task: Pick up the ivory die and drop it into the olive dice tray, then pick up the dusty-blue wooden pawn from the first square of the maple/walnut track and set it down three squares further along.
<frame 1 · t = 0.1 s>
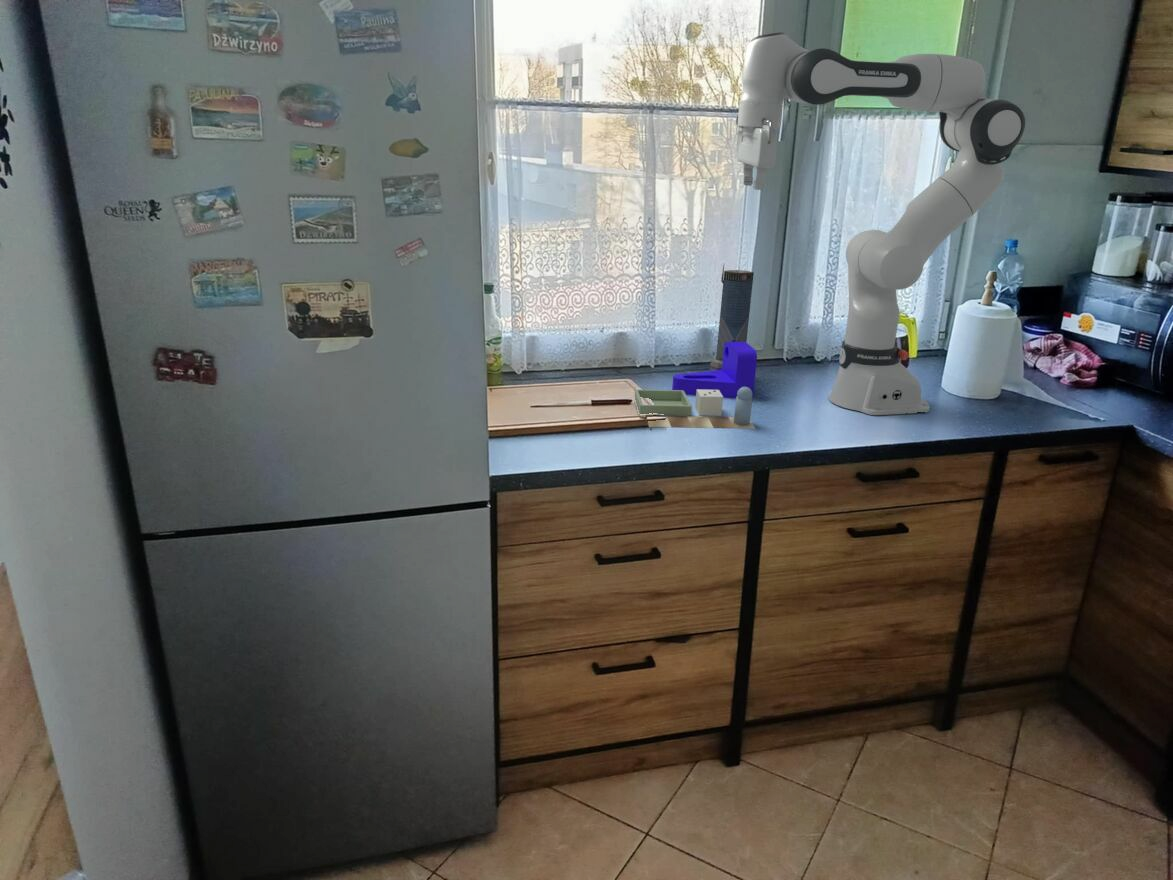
hand: (752, 187, 187), 48 cm above the worktop, fingers open, 8 cm apart
pawn: (741, 422, 188), point 1 cm above the worktop, touching track
building: (728, 380, 220), on the worktop
bracket: (708, 394, 209), on the worktop
die: (707, 414, 195), on the worktop
dice tray: (661, 409, 196), on the worktop
track: (700, 424, 188), on the worktop
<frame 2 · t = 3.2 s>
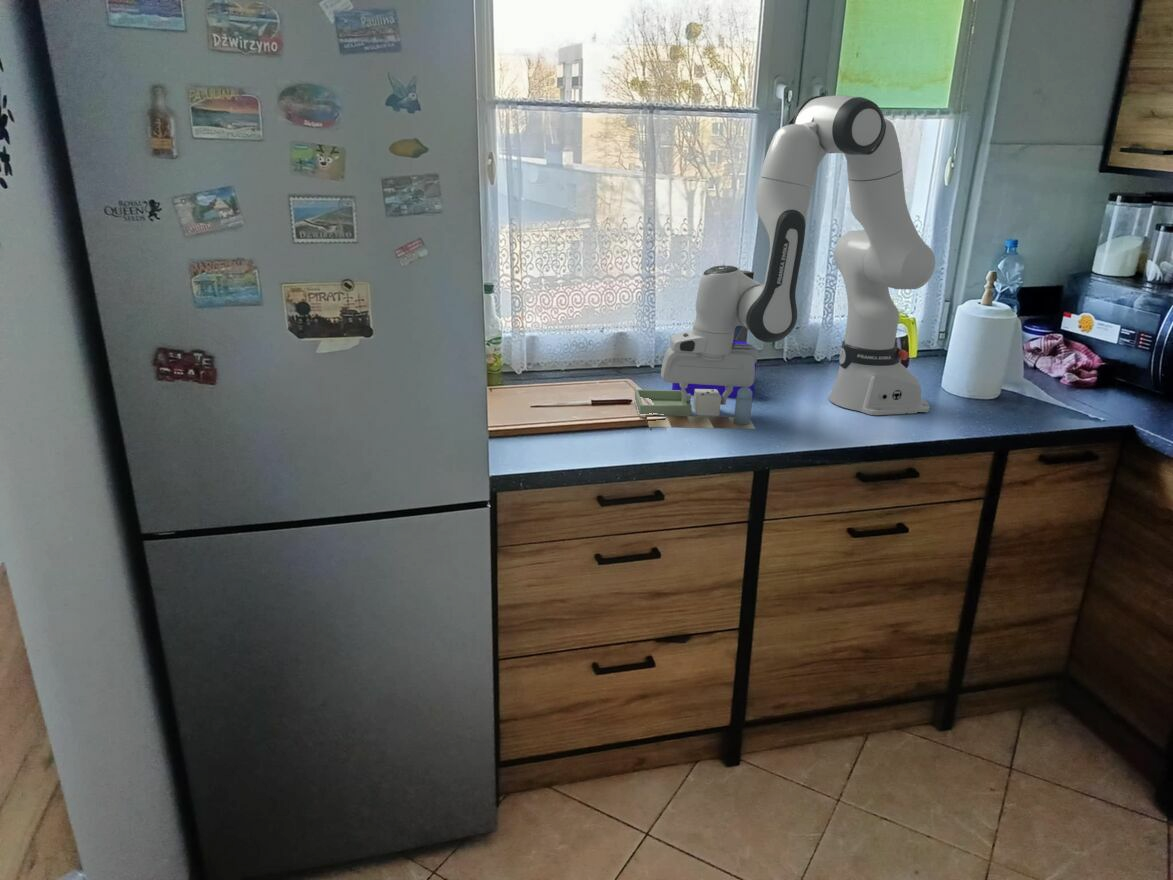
hand: (704, 403, 193), 3 cm above the worktop, fingers open, 6 cm apart
die: (705, 414, 195), on the worktop, touching gripper
everything else where it was.
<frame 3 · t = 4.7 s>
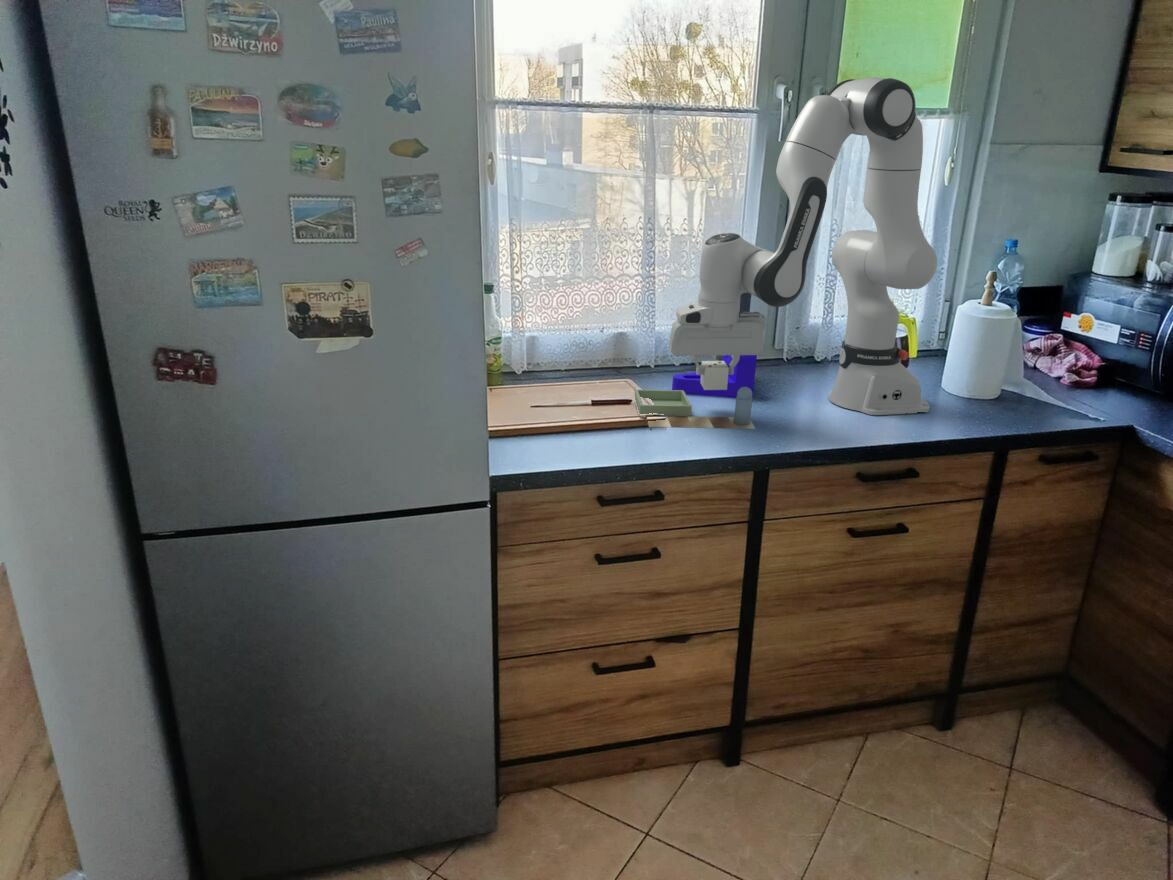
hand: (714, 374, 192), 9 cm above the worktop, fingers closed on die, 5 cm apart
die: (713, 386, 193), point 6 cm above the worktop, touching gripper
everything else where it was.
when the fingers open (10 cm above the worktop, at t = 6.0 s): die drops 7 cm, resting on dice tray.
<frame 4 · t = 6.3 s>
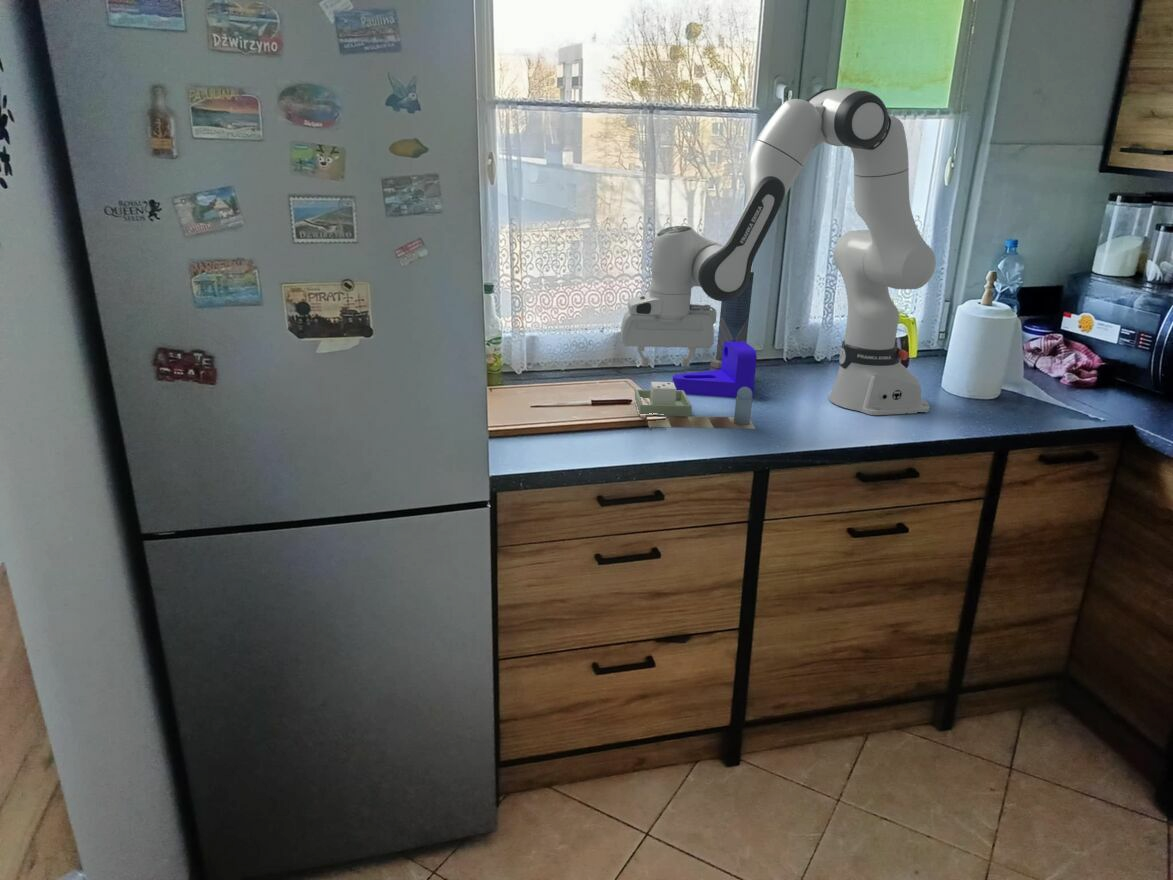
hand: (664, 366, 193), 10 cm above the worktop, fingers open, 8 cm apart
die: (662, 406, 196), point 1 cm above the worktop, touching dice tray
everything else where it was.
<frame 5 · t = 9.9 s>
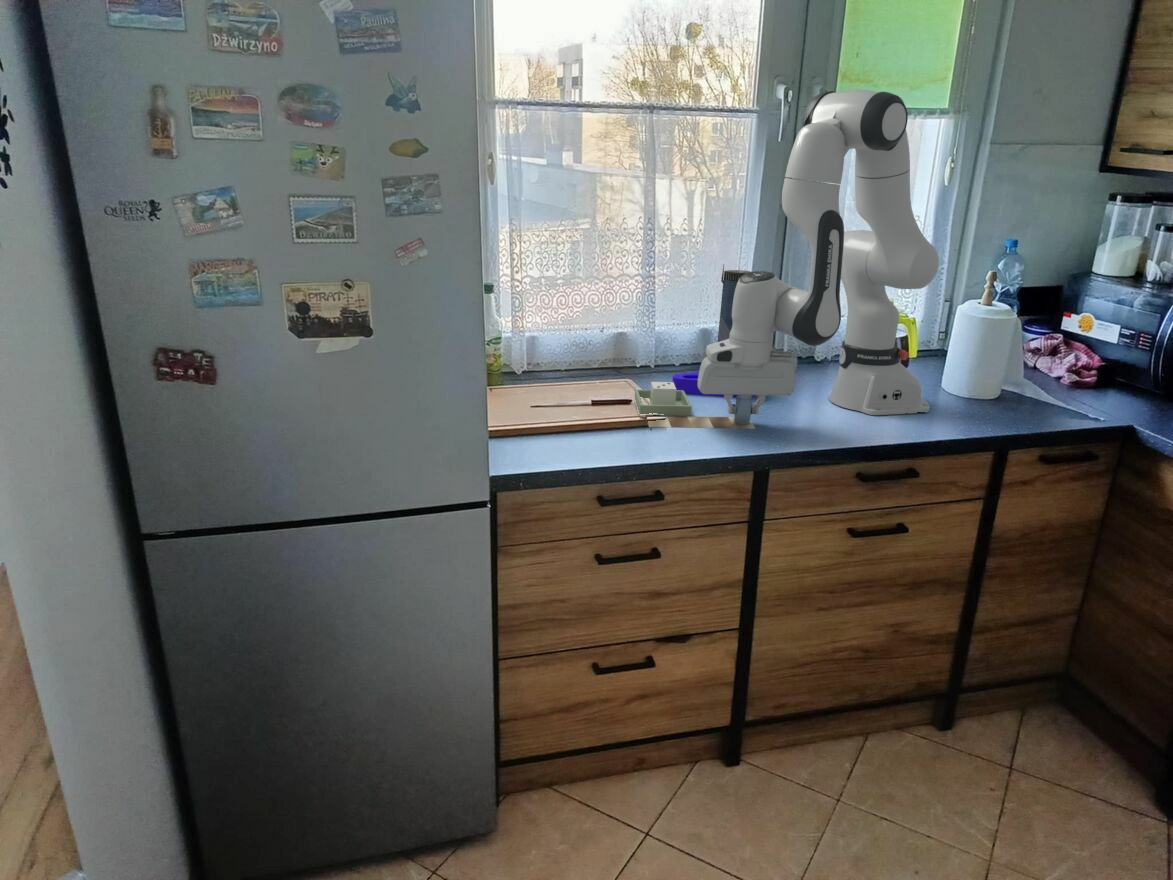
hand: (742, 413, 188), 3 cm above the worktop, fingers closed on pawn, 3 cm apart
pawn: (741, 422, 188), point 1 cm above the worktop, touching gripper, track
everything else where it was.
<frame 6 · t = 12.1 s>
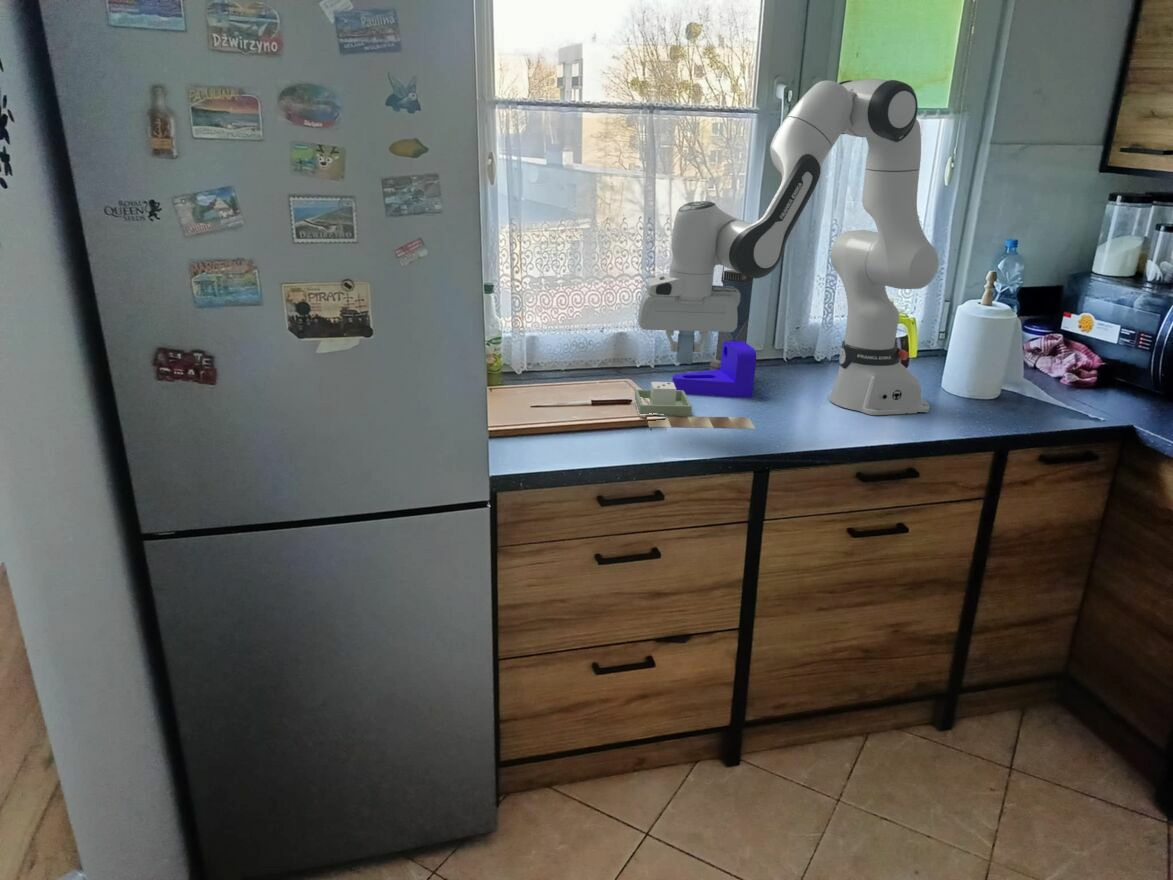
hand: (685, 351, 182), 16 cm above the worktop, fingers closed on pawn, 3 cm apart
pawn: (684, 361, 182), point 14 cm above the worktop, touching gripper
everything else where it was.
when the fingers open (4 cm above the worktop, at t = 14.5 s): pawn drops 1 cm, resting on track.
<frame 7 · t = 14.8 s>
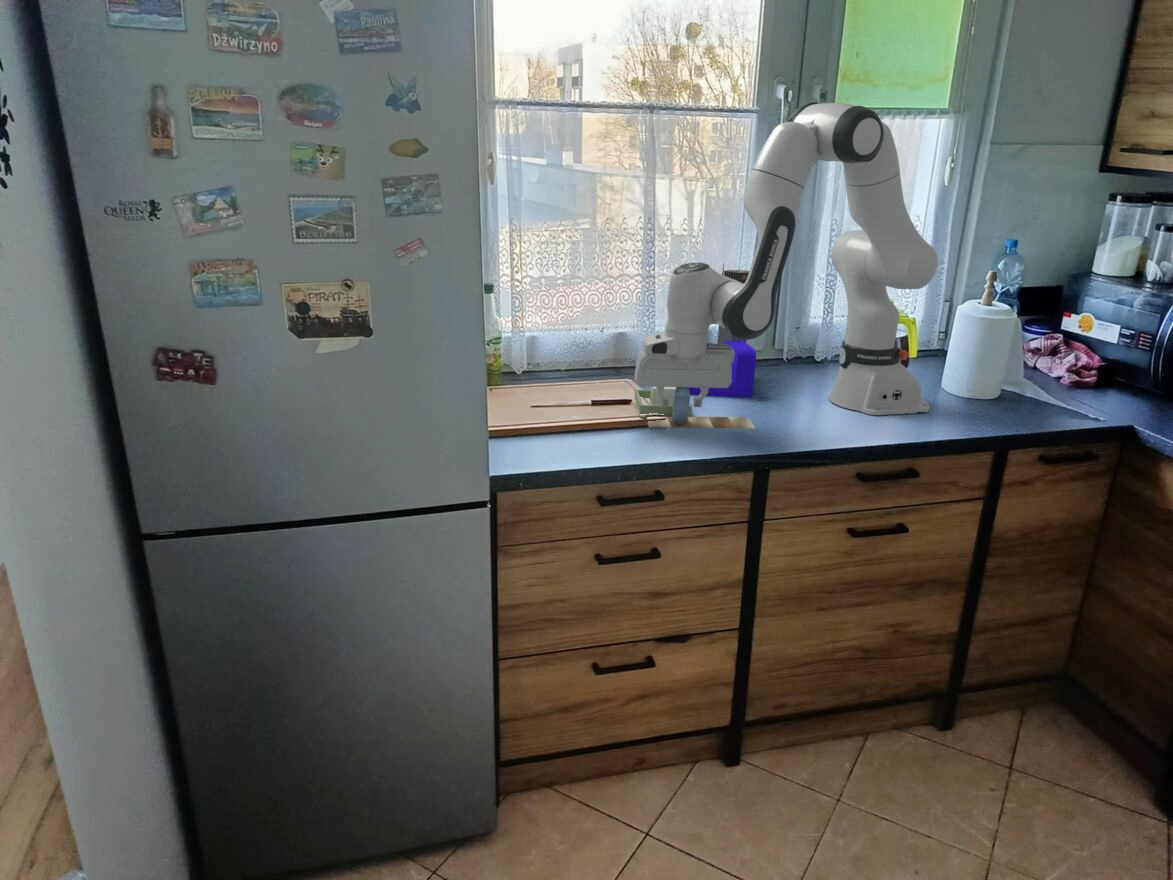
hand: (680, 406, 186), 4 cm above the worktop, fingers open, 6 cm apart
pawn: (679, 421, 187), point 1 cm above the worktop, touching track
everything else where it was.
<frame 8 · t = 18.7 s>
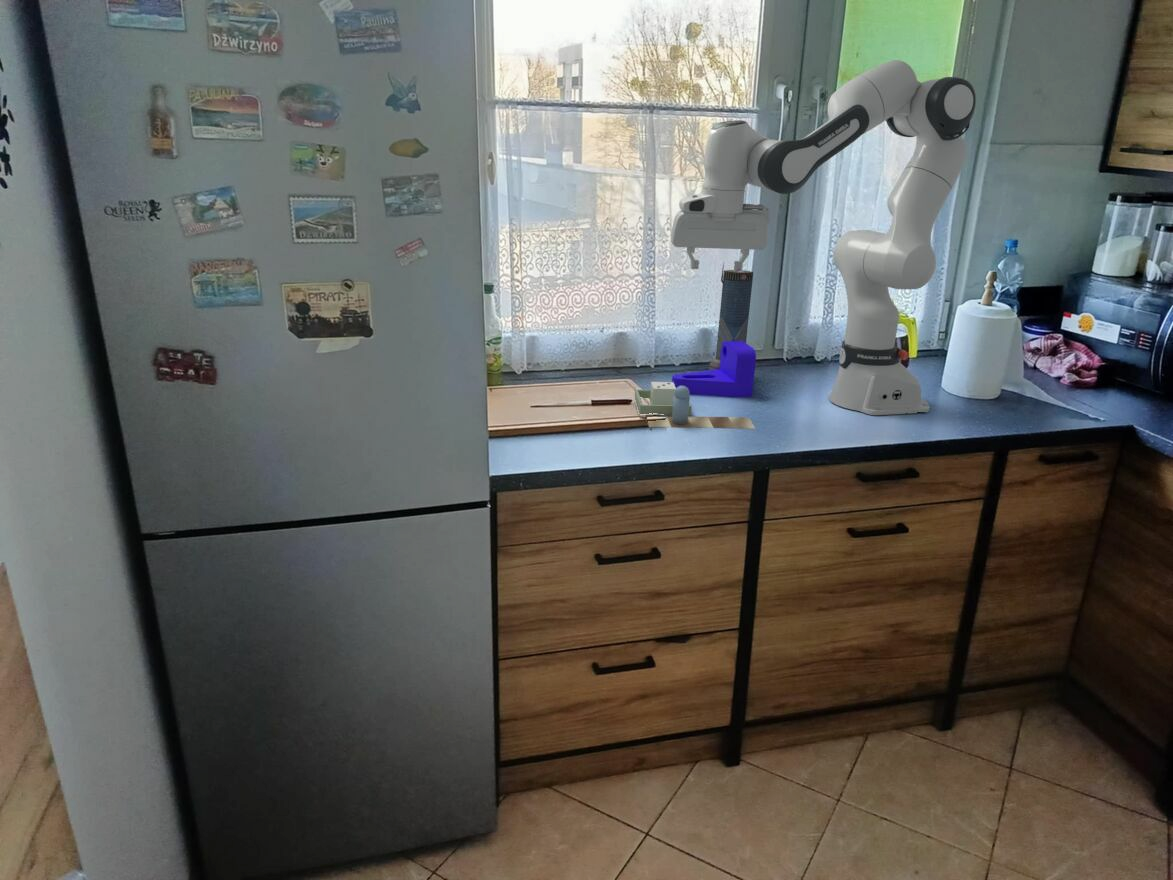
hand: (716, 269, 188), 31 cm above the worktop, fingers open, 8 cm apart
nothing on the worktop moved.
at the end: pawn 0.0 cm from the target spot, point 0.6 cm above the worktop; pawn tilted 0°; die inside the target area on the dice tray (0.3 cm from its centre), point 0.6 cm above the dice tray's base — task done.
